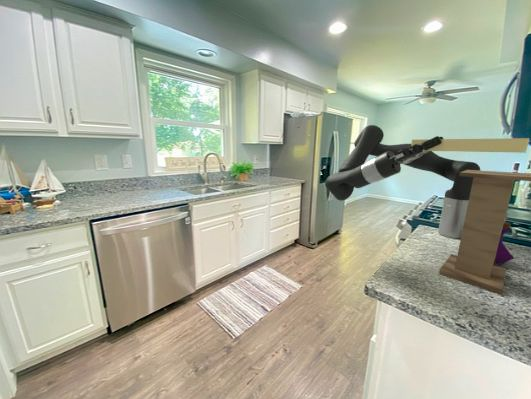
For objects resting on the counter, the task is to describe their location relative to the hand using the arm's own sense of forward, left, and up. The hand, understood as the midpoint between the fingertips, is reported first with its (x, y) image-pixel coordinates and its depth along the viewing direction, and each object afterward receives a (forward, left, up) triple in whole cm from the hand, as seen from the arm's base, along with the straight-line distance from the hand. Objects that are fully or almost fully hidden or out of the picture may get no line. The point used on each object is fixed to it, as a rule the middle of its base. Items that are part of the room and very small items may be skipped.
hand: (441, 139), depth 61 cm
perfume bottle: (-32, +13, -41) cm, 54 cm away
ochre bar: (0, +4, -3) cm, 5 cm away
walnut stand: (-16, +10, -41) cm, 45 cm away
